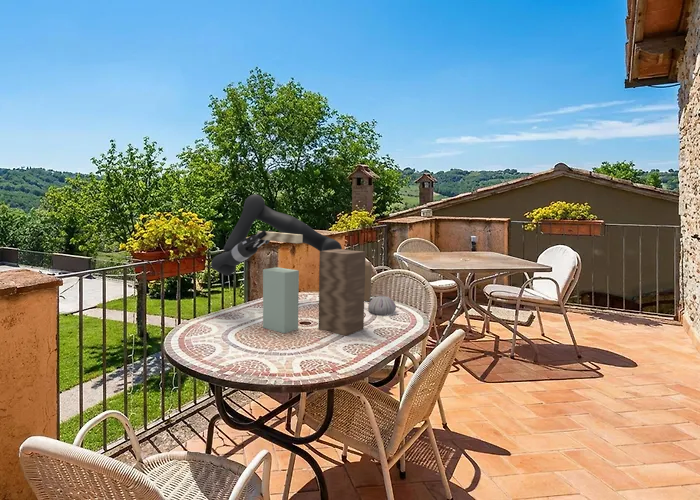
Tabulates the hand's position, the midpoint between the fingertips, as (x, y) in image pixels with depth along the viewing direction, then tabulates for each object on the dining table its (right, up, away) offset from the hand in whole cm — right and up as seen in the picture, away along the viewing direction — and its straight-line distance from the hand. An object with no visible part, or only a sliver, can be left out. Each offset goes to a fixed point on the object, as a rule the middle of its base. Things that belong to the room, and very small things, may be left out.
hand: (268, 232), depth 180 cm
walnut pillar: (+29, -40, +1) cm, 49 cm away
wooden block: (+39, -34, +56) cm, 76 cm away
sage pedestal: (+5, -39, 0) cm, 39 cm away
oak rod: (+5, -4, -3) cm, 7 cm away
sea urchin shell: (+48, -37, +30) cm, 68 cm away
